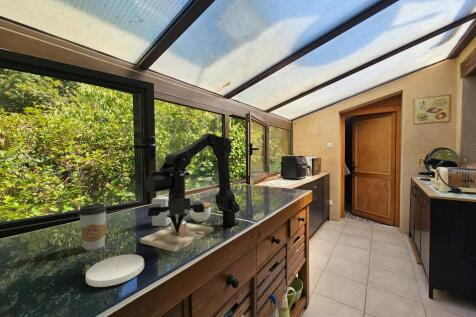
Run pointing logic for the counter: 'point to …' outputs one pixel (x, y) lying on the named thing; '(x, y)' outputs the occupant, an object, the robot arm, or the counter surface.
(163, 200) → the supplement box
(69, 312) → the counter surface
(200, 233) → the coupling base
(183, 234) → the handle
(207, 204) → the lidded jar
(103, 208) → the coffee cup
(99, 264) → the plastic lid
